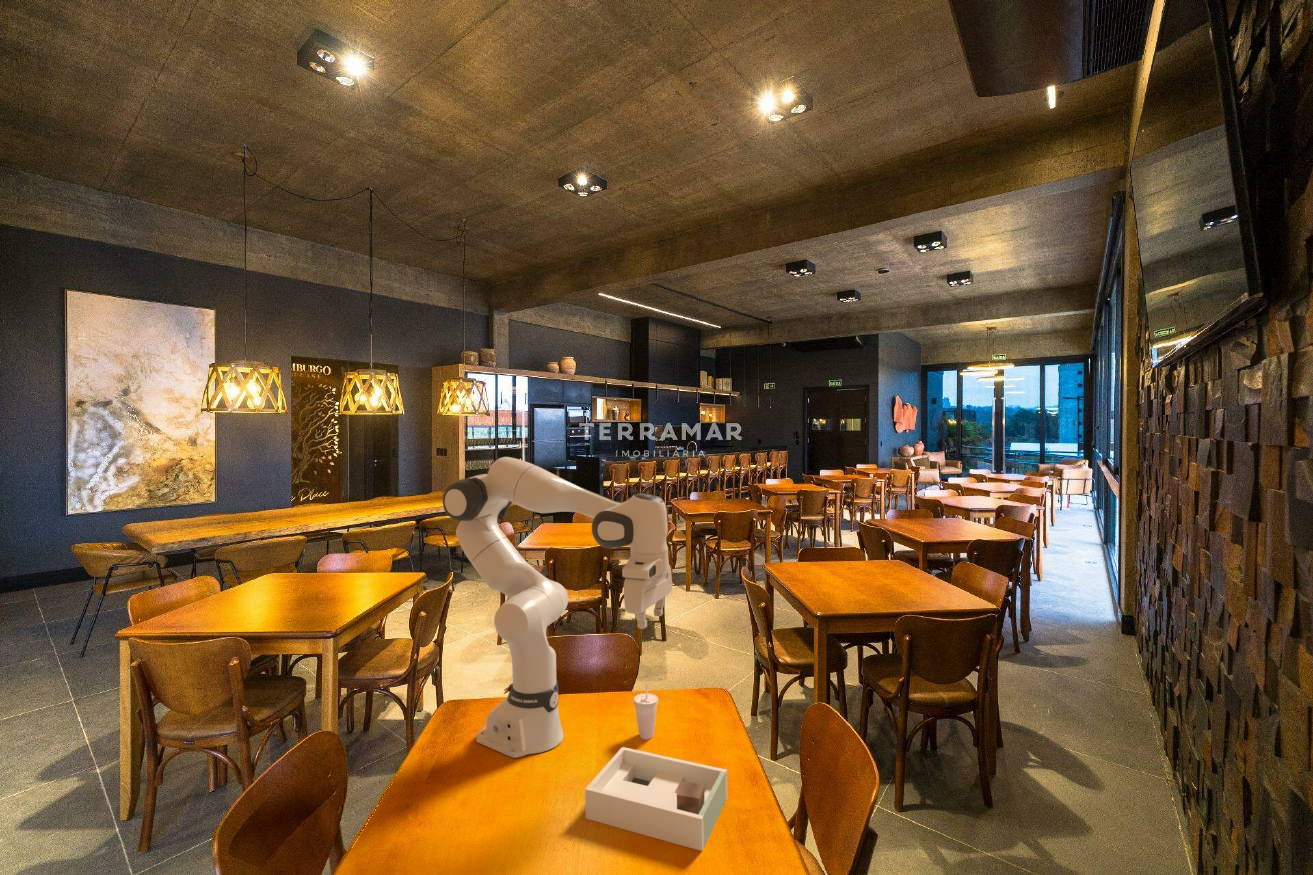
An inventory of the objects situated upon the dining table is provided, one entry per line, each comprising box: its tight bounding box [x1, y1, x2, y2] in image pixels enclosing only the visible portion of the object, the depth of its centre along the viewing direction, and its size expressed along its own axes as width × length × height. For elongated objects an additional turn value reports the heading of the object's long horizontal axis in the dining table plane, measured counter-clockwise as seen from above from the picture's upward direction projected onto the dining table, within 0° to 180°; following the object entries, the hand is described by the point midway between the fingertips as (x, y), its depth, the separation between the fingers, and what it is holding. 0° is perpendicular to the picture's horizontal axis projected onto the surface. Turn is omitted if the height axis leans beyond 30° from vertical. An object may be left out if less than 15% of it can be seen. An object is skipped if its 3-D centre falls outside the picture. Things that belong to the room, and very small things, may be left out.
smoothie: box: [633, 681, 659, 740], centre depth 148 cm, size 6×6×14 cm
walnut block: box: [677, 781, 705, 814], centre depth 113 cm, size 4×4×4 cm
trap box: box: [584, 746, 728, 852], centre depth 119 cm, size 25×17×6 cm
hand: (650, 621), depth 134 cm, fingers open, 8 cm apart
